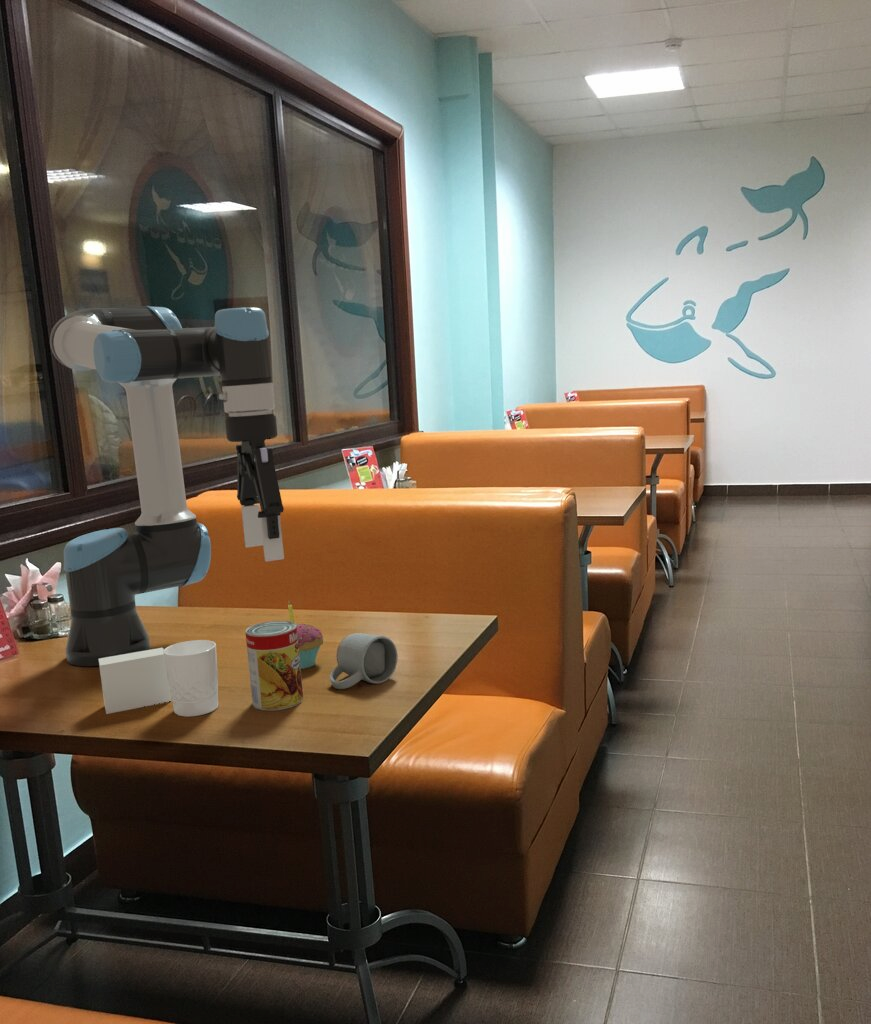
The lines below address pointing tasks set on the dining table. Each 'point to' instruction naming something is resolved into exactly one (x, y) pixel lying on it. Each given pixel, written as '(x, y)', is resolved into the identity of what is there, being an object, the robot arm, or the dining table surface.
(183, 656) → the white cup
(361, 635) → the ceramic mug
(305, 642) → the cupcake
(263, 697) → the canned food
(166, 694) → the off-white rectangular block
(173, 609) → the dining table surface
